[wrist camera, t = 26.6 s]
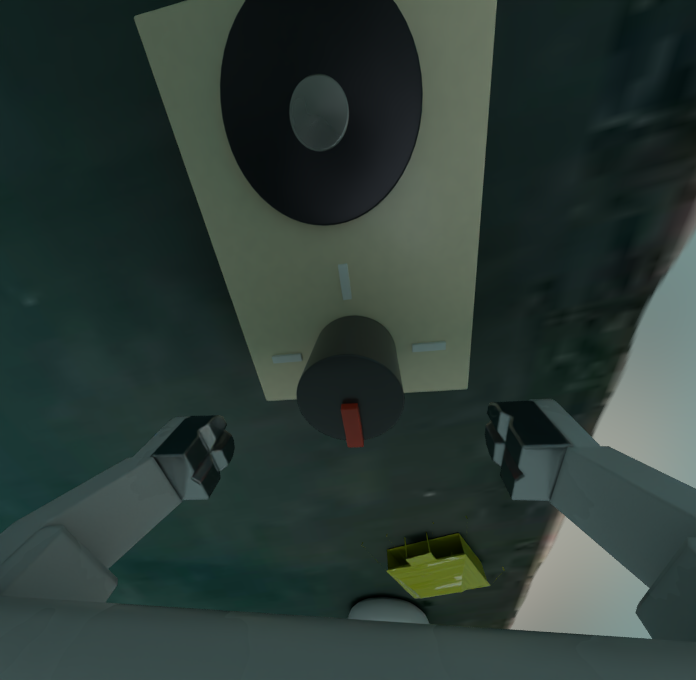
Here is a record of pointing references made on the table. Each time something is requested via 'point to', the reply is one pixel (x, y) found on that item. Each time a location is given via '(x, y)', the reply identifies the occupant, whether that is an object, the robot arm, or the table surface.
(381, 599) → the vodka
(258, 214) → the hot plate
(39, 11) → the table surface
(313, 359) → the hob knob
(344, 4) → the burner
